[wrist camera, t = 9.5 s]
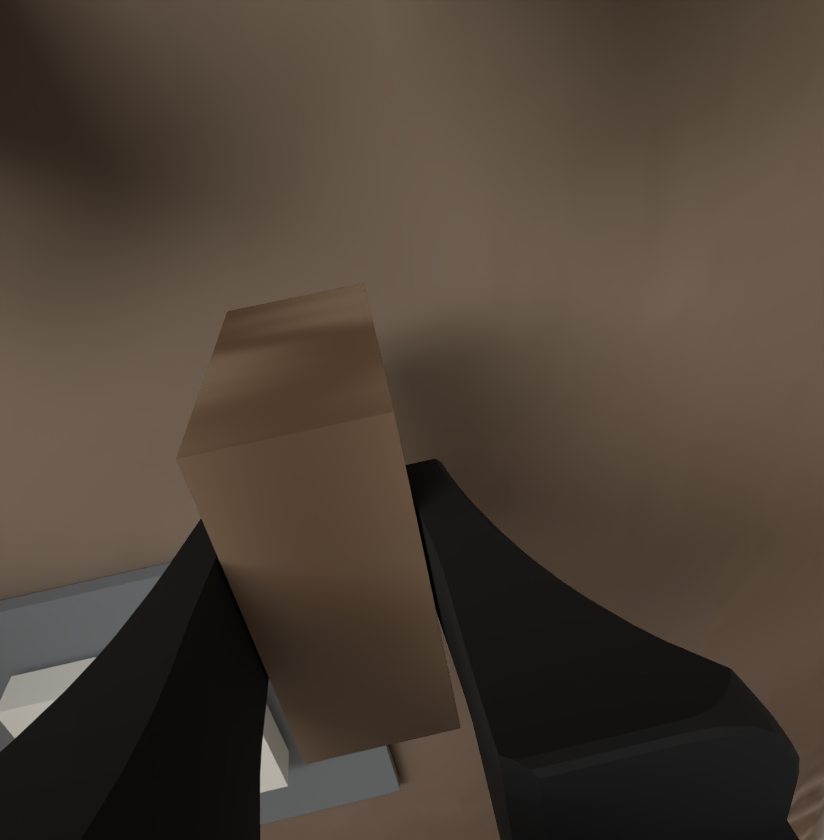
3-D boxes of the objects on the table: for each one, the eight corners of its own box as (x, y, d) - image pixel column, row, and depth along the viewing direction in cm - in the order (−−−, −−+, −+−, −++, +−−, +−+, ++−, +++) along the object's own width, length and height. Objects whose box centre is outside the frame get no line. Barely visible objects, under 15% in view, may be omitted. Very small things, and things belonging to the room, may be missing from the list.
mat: (69, 857, 30) (64, 872, 30) (-137, 631, 22) (-148, 645, 22) (398, 778, 31) (400, 790, 30) (318, 528, 23) (319, 540, 22)
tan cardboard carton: (307, 554, 17) (305, 764, 12) (227, 311, 14) (176, 458, 9) (416, 530, 17) (460, 727, 12) (363, 283, 14) (394, 411, 9)
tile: (12, 673, 23) (104, 792, 27) (-6, 713, 22) (93, 832, 26) (230, 622, 24) (289, 748, 28) (226, 659, 22) (287, 786, 26)
